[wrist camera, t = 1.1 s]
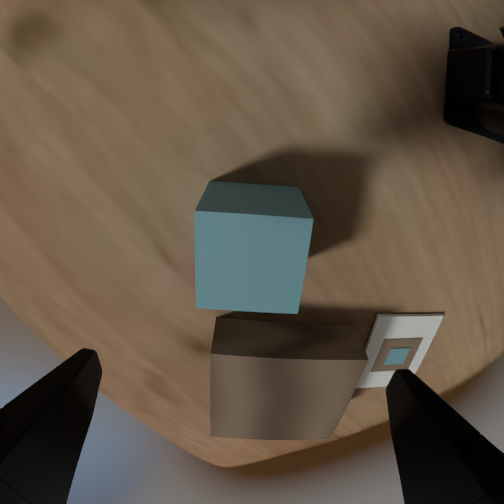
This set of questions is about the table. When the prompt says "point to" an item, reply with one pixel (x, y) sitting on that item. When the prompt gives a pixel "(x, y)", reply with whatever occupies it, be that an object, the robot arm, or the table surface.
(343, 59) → the table surface
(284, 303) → the teal cube
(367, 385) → the card
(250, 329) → the walnut block
